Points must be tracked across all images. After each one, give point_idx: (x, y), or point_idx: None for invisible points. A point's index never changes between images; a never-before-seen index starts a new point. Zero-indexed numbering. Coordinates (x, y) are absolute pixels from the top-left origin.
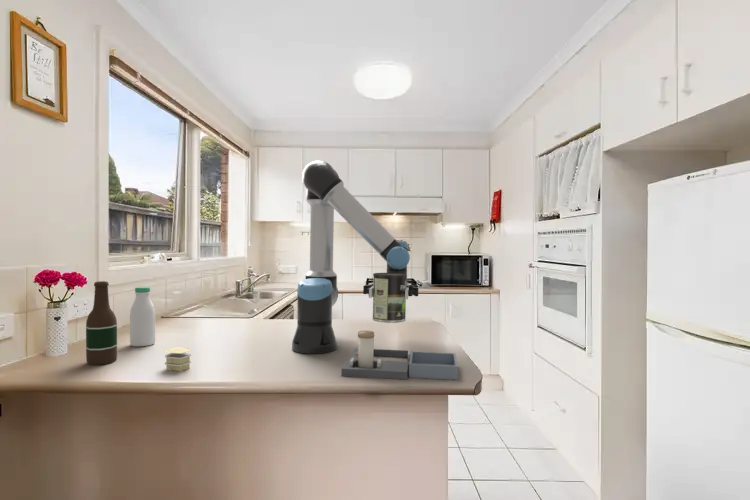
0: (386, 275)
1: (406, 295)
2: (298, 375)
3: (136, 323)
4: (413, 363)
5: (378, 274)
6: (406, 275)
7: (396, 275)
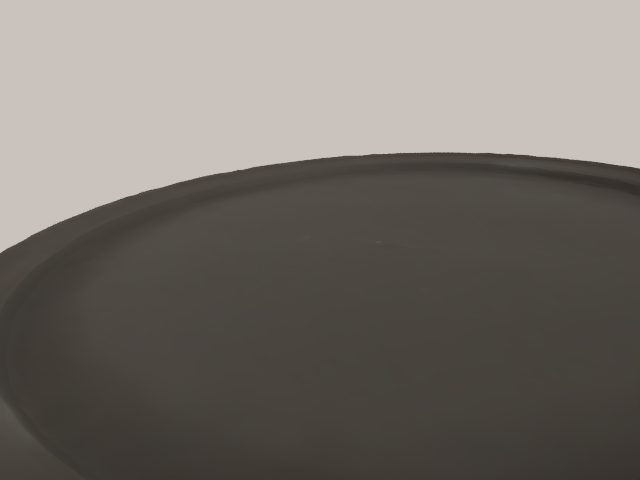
0: (381, 156)
1: None
2: None
3: None
4: None
5: (541, 165)
6: (16, 256)
7: (243, 170)
